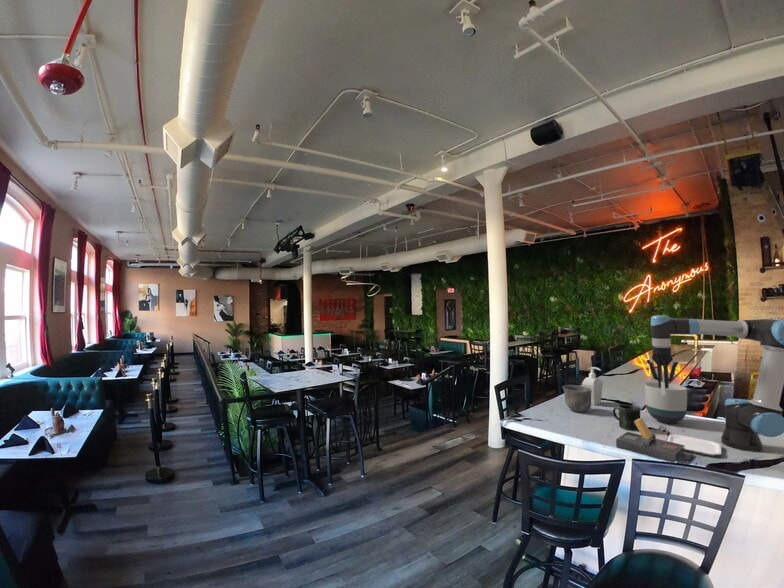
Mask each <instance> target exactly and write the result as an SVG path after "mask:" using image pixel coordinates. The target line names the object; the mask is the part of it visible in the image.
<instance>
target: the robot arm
mask: <svg viewBox="0 0 784 588" xmlns="http://www.w3.org/2000/svg"><path fill="white" fill-rule="evenodd" d="M650 330H651V345H652V348H651V349H652V351H651V352H652V356H651V358H649V359H646V362H647V364H648V365H649V368H650V371H651V375H652V378H653V379H654V380H656V381H658V384H659V388H661V394H662V395H666V394H667V392H666V388H667V389H668V388H669V384H670V383H669V382H672V381H673V380H674V377H675V372H676V370H677V366H678V365H679V361H677V360H675V359H674V358H673V356H672V348H671V346H672V344H671V343H672V342H671V336H672V335H690V336H691V335H709V336H725V337H726V336H727V337H737V338H738V339H739V340H740V339H741V340H749V341H755V342H760V344H759V346H760V347H761V348H762V349H763V352H762V356H761V359H760V360H761V361H760V366H759V369H758V373H757V379H756V383H755V389H754V392H753V398H751V399H744V398H743V399H742V398H726V399H725V400H724V415H725V416H724V419H725V421H724V422H725V428H724V430H723V433H722V435H721V438H720V439H721V443H722V444H723V445H725V446H728V447H731V448H734V449H737V448H738V450H741V449H742V450H743V451H747V450H753V451H752V452H761V451H760V450H762V449H763V450H764V447H763V446H764V445H763V442H762V440H761V438H760V436H759V435H761V436H763V437H767V438H776V437H778V436H782V434H784V417H783V411H784V410H783V408H782V407H781V406H780V402H781V397H782V393H783V388H784V319H770V318H762V319H761V318H759V319H738V320H736V321H735V320H733V321H732V320H719V319H718V320H717V319H700V318H699V319H697V318H678V317H677V318H676V317H670V316H669V315H652V316H651V317H650ZM654 363H655V364H656V368H657V371H656V368H655V365H654ZM670 364H671V365H672V366H671V369H670V374H669V365H670ZM662 367H663V368H662ZM662 369H663V370H662ZM662 371H663V372H662ZM742 450H741V451H742ZM763 450H762V451H763Z"/></svg>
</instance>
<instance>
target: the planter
mask: <svg viewBox="0 0 784 588" xmlns="http://www.w3.org/2000/svg"><path fill="white" fill-rule="evenodd" d="M666 392H667V394H666V395H662V394H661V388H659V384H658V382H654V381H652V382H650V381H649V382H646V383H644V393H645V394H644V396H645V397H644V398H645V406H646V410H647V413H648V414H649V415H650V416H651V417H652V418H653V419H655V420H656V421H658V422H661V423H665V424H676V423H679V422H681V421H683V419H684V418H685V417H686V414H687V409H688V408H687V407H688V388H687V387H686V386H683V385H679V384H674V383H669V388H668V389H667V388H666Z"/></svg>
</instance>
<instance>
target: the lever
mask: <svg viewBox="0 0 784 588" xmlns="http://www.w3.org/2000/svg"><path fill="white" fill-rule="evenodd" d="M634 423H635V424H636V426H637V428H638V431H639V433H640V435H642V437H643V438H646V439H649V441H650V442H651V441H652V440H653V439H654V437H652V434H653V433H652V432H651V431H650V429H649V428H648V427H649V426H648V425H647V424H646V422H645V420H644V418H643V417H640V419H637V420H635V421H634ZM651 433H652V434H651Z"/></svg>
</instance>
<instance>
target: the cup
mask: <svg viewBox="0 0 784 588" xmlns="http://www.w3.org/2000/svg"><path fill="white" fill-rule="evenodd" d="M562 389H563V393H564V402H565V404H566V406H567V407H568V409H570V410H572V411H573V412H578V413H583V412H587V411H589V410H590V409H591V408H592V405H591V391H592V389H590V388H587V387H584V386H582V385H576V384H565V385H563V386H562Z"/></svg>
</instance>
